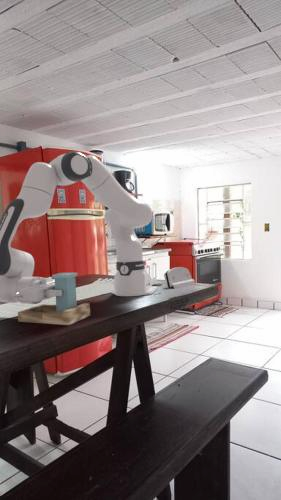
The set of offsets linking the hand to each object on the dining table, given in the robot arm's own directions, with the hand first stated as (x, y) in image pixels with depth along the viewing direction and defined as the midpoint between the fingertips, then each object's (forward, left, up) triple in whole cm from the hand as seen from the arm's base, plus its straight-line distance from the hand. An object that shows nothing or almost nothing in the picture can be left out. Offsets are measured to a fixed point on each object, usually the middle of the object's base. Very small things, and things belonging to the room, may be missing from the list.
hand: (68, 291), depth 108 cm
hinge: (-70, +15, -9) cm, 72 cm away
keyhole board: (0, -6, -9) cm, 11 cm away
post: (0, -1, -7) cm, 8 cm away
